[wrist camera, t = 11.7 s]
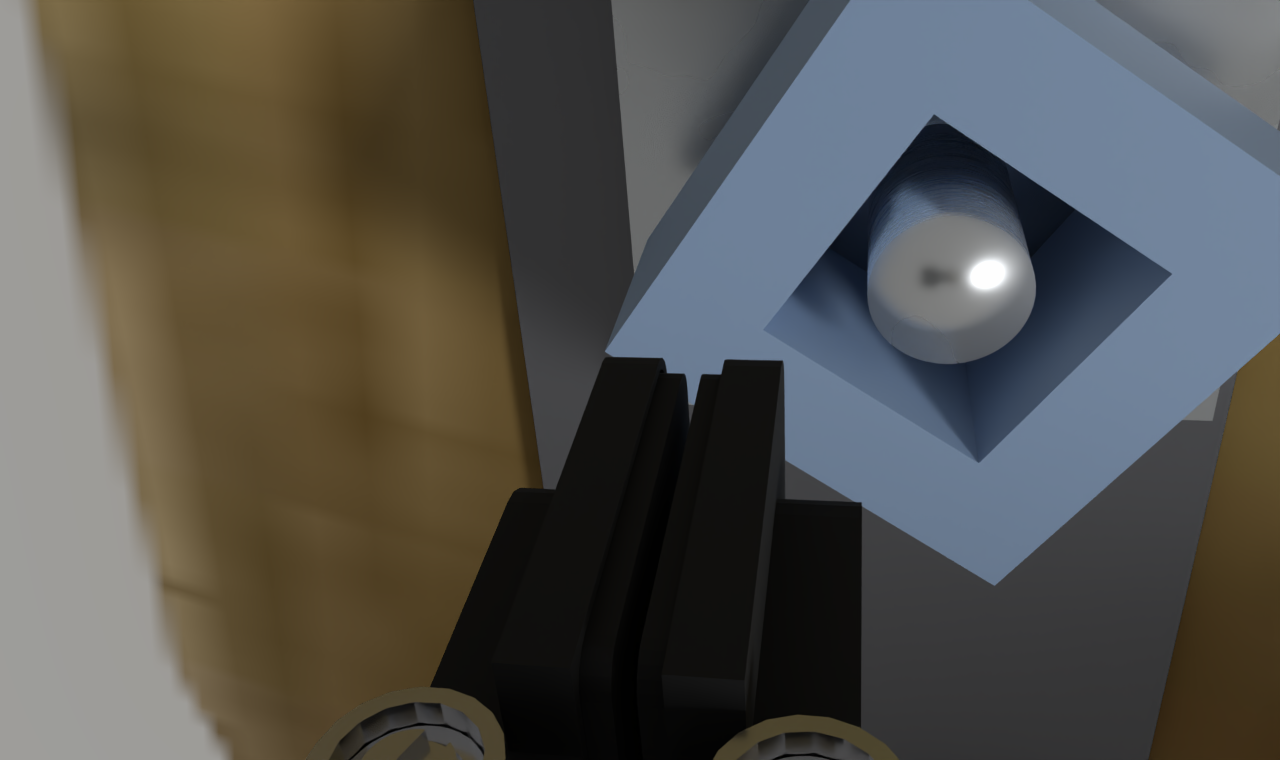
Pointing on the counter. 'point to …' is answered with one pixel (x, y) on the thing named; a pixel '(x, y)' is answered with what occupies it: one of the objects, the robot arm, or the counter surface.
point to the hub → (903, 159)
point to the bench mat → (891, 559)
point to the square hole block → (1063, 266)
